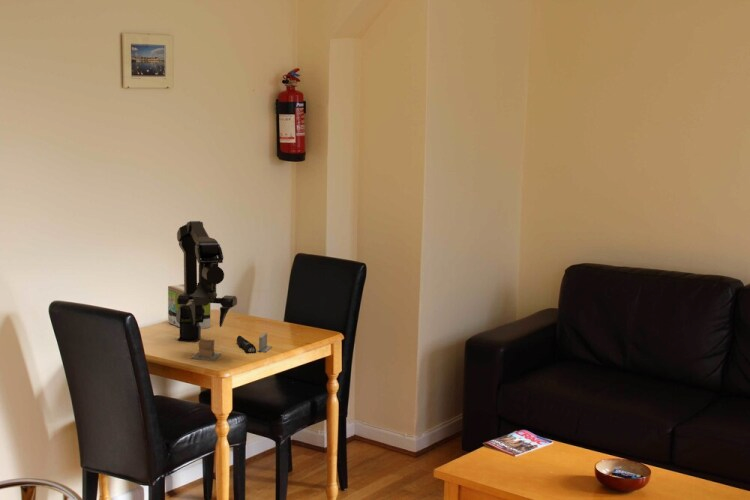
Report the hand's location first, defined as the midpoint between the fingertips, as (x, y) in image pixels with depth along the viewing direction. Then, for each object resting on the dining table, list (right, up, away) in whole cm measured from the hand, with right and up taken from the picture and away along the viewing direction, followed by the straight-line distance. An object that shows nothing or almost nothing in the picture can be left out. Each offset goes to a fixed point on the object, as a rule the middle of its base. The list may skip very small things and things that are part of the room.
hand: (207, 325), depth 306 cm
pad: (0, -10, +2) cm, 10 cm away
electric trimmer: (+10, -9, +15) cm, 20 cm away
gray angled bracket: (+17, -9, +13) cm, 23 cm away
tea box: (-15, -4, +45) cm, 47 cm away
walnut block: (-1, -10, +2) cm, 10 cm away
